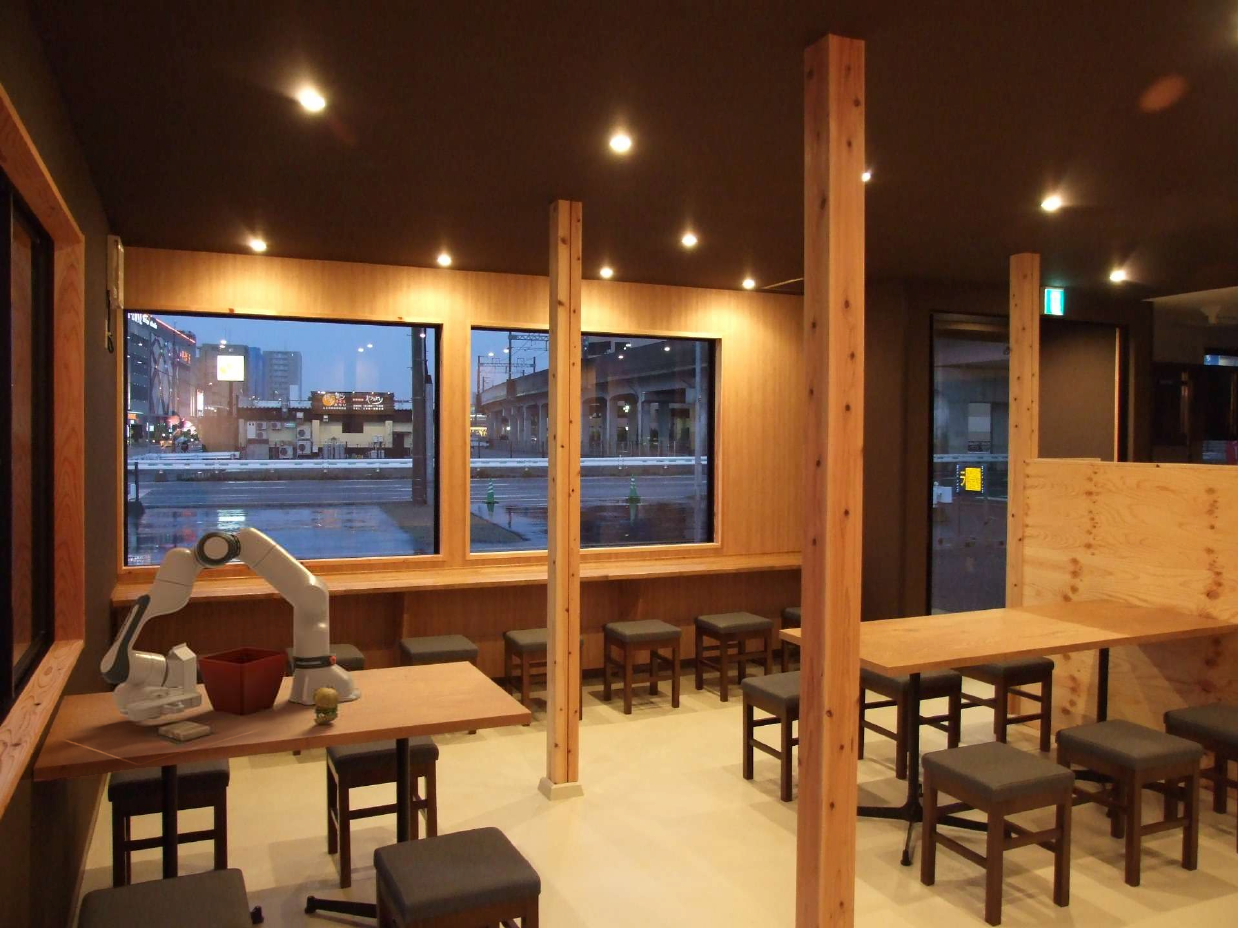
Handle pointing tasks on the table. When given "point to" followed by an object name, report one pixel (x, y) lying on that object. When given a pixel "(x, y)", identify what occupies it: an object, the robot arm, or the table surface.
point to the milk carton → (181, 668)
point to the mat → (173, 740)
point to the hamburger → (326, 705)
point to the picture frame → (184, 730)
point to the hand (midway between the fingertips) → (179, 709)
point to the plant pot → (243, 679)
